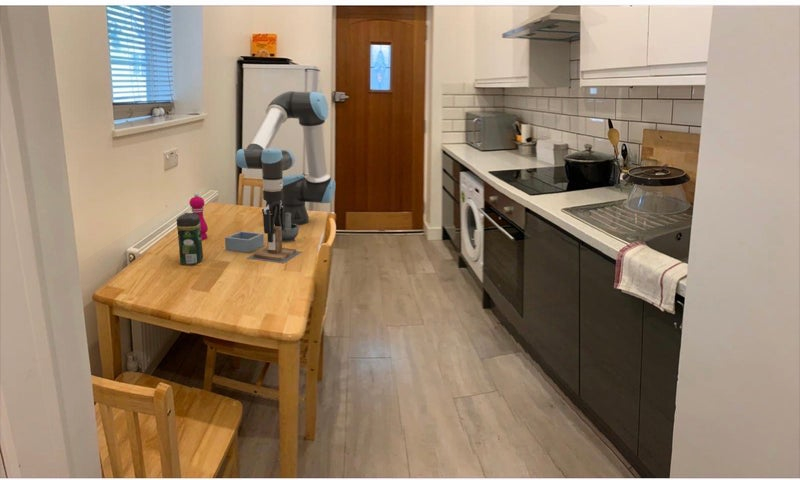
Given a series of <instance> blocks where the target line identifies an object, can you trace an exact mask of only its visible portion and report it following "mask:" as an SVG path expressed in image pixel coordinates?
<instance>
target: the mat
mask: <svg viewBox="0 0 800 480" xmlns="http://www.w3.org/2000/svg"><path fill="white" fill-rule="evenodd" d="M302 253H303V251H299V250H296V253H294V254H292V255H291V256H289V257H287V258H286V259H284V260H282V261H278V260H270V259H262V258H255V257H254V254H252V255H250V256H248V257H246V260H247V259H248V260H255V261H260V262H261V261H263V262H270V263H276V264H277V263H278V264H285V263H287V262H288V261H290V260H291V259H293V258H295V257H297V256H298V255H300V254H302Z"/></svg>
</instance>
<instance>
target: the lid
mask: <svg viewBox="0 0 800 480" xmlns="http://www.w3.org/2000/svg"><path fill="white" fill-rule="evenodd" d="M274 234H275V248H276V250H268V246H267V247H265V248H263V249H261V250H259V251H257V252H255V253H254V254H253V255H254V257H255V258H262V259H270V260H278V261H282V260H284V259H286V258H287V257H289V256H291V255H292V254H294V253H296V251H297V249H295V248H286V247H283V241H282V229H281V227H279V226H275V225H274ZM266 238H267V239H268V234H267V237H266Z"/></svg>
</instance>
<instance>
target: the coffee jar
mask: <svg viewBox="0 0 800 480" xmlns="http://www.w3.org/2000/svg"><path fill="white" fill-rule="evenodd" d="M176 229H177V238H178V249H179V262H180V264H181V265H187V266H194V265H198V264H200V263H201V262H203V260H204V259H203V258H204V253H203V251H204V250H203V240H201V227H200V217H199V215H197V214H196V213H193V212H184V213H183V214H181V215H179V216H178V217H177V218H176Z"/></svg>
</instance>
